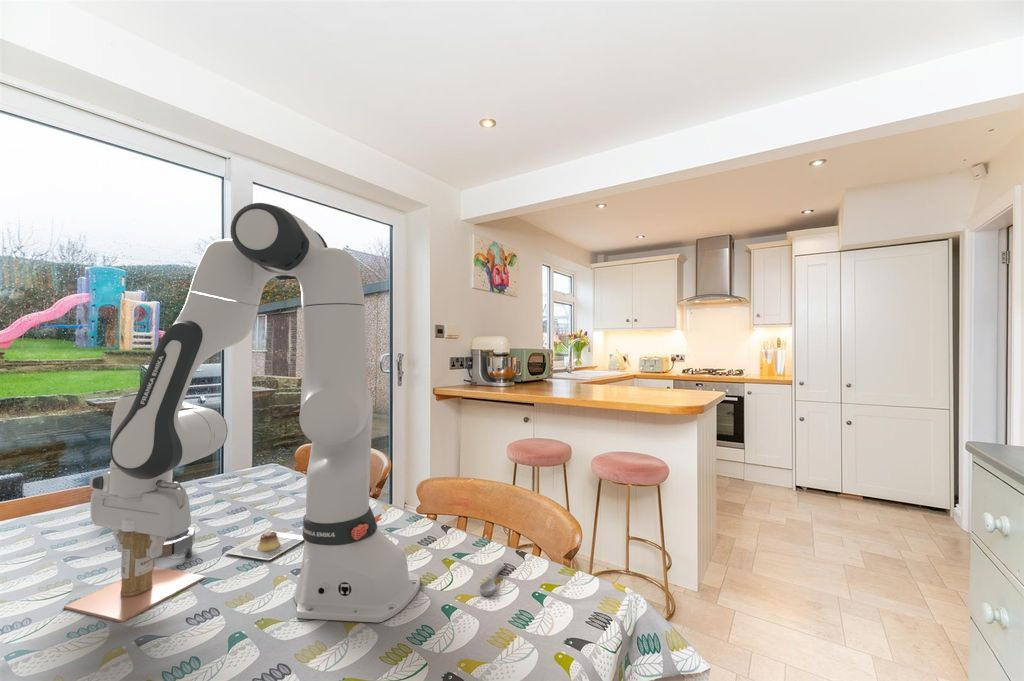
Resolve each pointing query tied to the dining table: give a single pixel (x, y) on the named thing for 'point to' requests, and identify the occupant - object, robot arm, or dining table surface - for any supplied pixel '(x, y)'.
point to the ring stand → (179, 544)
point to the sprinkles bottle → (135, 561)
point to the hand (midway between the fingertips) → (139, 553)
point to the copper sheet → (124, 608)
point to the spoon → (491, 581)
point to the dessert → (266, 543)
